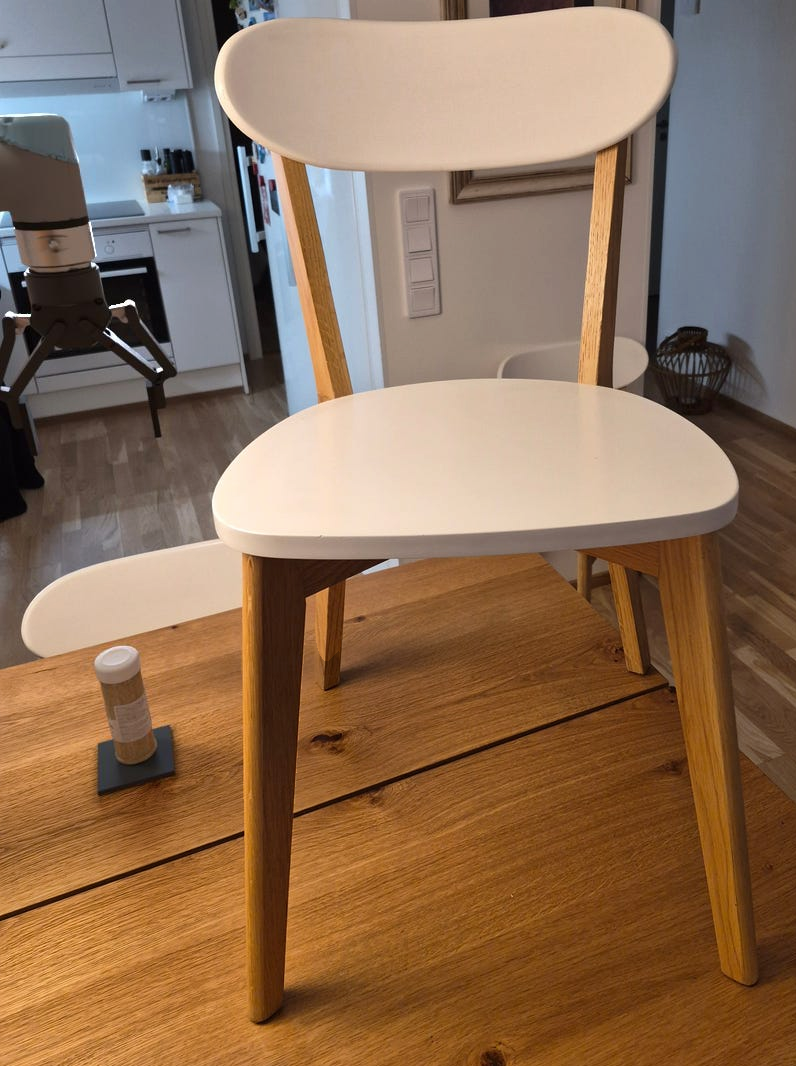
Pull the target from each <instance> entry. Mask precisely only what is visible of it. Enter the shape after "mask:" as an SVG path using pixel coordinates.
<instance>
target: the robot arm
mask: <svg viewBox="0 0 796 1066" xmlns="http://www.w3.org/2000/svg"><path fill="white" fill-rule="evenodd" d="M81 171H82V170H81V166H80V159H79V157H78V154H77V149H76V145H75V141H74V137H73V134H72V129H71V126H70V123H69V121H67V120H66V119H65V118H64V117H63V116H61V115H59V114H56V113H23V114H0V213H1V212H2V213H3V212H8V213H9V215H10V217H11V223H12V228H13V232H14V236H15V240H16V245H17V249H18V253H19V259H20V263H21V264H22V265H23V266H25V267H27V268H26V269H25V272H23V276H24V281H25V285H26V289H27V294H28V298H29V302H30V306H31V307H30V308H31V311H30V314H28V313H27V314H21V313H19V314H18V313H14V312H13V311H7V312H5V313H4V314H3V317H2V319H1V327H2V335H3V338H2V341H1V344H0V401H1V402H3V403H5V405H6V406H7V409H8V412H9V413H8V414H9V417H10V420H11V421H10V422H11V425H12V427H13V428H14V429H15V430H18V429H23V430H24V434H25V438H26V443H27V447H28V450H29V455H30V457H31V458H32V457H37V456H39V452H40V443H39V439H38V435H37V430H36V427H35V422H34V418H33V414H32V410H31V405H30V402H29V401H30V400H29V398H28V395H22V394H23V393H24V391H25V389H26V388H27V387H28V386H29V383H30V382H31V381H32V379H33V377H34V376H35V374H36V373H37V372H38V370H39V369H40V367H41V366H42V364H43V363H44V362H45V359H46V358H47V357H48V356H49V354H50V353H51V351H52V350H53V348H54V347H55V348H56V349H59V350H62V351H70V350H73V349H75V348H82V349H88V348H93V347H94V346H95V345H97V344H100V345H101V346H103V347H104V348H105V349H107V350H109V351H110V352H112V353H113V354H114V355H116V356H117V357H118V358H119V359H121V360H122V361H123V362H125V363H126V364H127V365H129V366H130V367H131V368H132V369H134V370H135V371H136V372H138V373H139V374H140V375H141V376H143V377H144V378H145V379H146V380H144V382H145V388H146V394H147V399H148V400H147V401H148V405H149V411H150V417H151V423H152V428H153V434H154V438H155V439H159V438H163V437H162V436H163V435H162V431H161V430H162V429H161V424H160V420H159V413H158V410H162V409H166V407H167V400H166V399H167V398H166V393H165V388H164V383H165V381H167V380H169V379H171V378H176V376H177V375H178V371H177V366H176V364H175V363H174V361H173V359H171V357H170V356H169V355H168V353H167V352H166V351H165V349H164V348H163V347H162V346H161V344H160V343H159V341H158V340H157V339H156V338H155V336H154V335H153V334H152V332H151V331H150V330H149V329H148V327H147V326H146V324H145V323H144V322H143V321H142V319H141V318H140V316H139V313H138V309H137V305H136V303H135V301H133V300H131V299H127V300H125V301H124V303H120V304H116V305H111V306H110V305H109V304H108V303H107V301H106V298H105V294H104V287H103V283H102V282H103V281H102V278H101V273H100V267H99V266H98V265H97V264H96V263H95V262H93V261H95V260H96V258H97V252H96V251H97V250H96V246H95V241H94V236H93V230H92V225H91V221H90V217H89V211H88V206H87V200H86V195H85V187H84V184H83V176H82V172H81ZM114 317H115V318H116V317H117V318H118V319H119V321H120V322H121V323H122V324H128V325H129V327H130V329H131V330H132V332H133V333H134V335H135V336H136V337H137V338H138V340H139V341H140V342H141V344H142V345H143V346H144V347H145V349H146V350H147V351H148V352H149V354H150V355H151V356H152V358H153V359H154V360H155V362H156V363H157V365H159V367H158V368H157V367H156V366H154V365H153V364H152V363H151V362H149V361H148V360H147V359H146V358H145V357H143V356H142V355H140V354H139V353H138V352H136V351H135V350H134V349H133V348H132V347H131V346H129V345H128V344H127V343H125V341H123V340H122V339H120V338H119V337H118V336H117V334H115V333H114V332H113V331H112V330H110V329H109V328H108V326H109V324H110V323H111V321H112V319H113V318H114ZM28 326H31V327H32V329H34V330H35V331H36V332H37V333H39V334H40V336H41V338H40V339H39V341H38V343H37V345H36V347H35V348H34V349H33V351H32V353H31V354H30V355H29V357H28V358H27V360H26V361H25V363H24V364H23V366H22V368H21V369H20V370H19V372H18V373H17V375H16V376H15V378H14V379H13V381H12V382H11V383H10V385H9V387H7V386H2V385H3V382H4V378H5V376H6V373H7V369H8V368H9V367H8V366H9V364H10V361H11V358H12V354H13V350H14V347H15V344H16V341H17V338H18V336H20V335H22V334H23V333H24V332H25V328H26V327H28Z"/></svg>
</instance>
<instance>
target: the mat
mask: <svg viewBox="0 0 796 1066" xmlns="http://www.w3.org/2000/svg"><path fill="white" fill-rule="evenodd" d="M152 730H153V734H154V738H155V740H156V742H157V748H156V750H155V752H154V753H153V755H152V756H151V757H150V758H148V759H147V760H145V761H143V762H140V763H137V764H123V763H120V762H119V761H118V760H117V758H116V755H115V752H116V750H115V745H114V741H113V738H112V739H108V740H104V741H100V742H98V743H97V795H98V796H102V795H106V794H109V793H113V792H117V791H121V790H123V789H128V788H132V787H134V786H138V785H142V784H146V783H150V782H153V781H155V780H160V779H163V778H168V777H170V776H174V775H176V768H175V767H176V766H175V759H174V748H173V739H172V738H173V737H172V729H171V725H170V724H166V725H163V726H158V727H155V728H152Z"/></svg>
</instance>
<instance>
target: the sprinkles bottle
mask: <svg viewBox="0 0 796 1066" xmlns="http://www.w3.org/2000/svg"><path fill="white" fill-rule="evenodd" d="M93 666H94V672H95V675H96V676H95V677H96V679H97V681H99V684H100V689H101V694H102V697H103V701H104V710H105V714H106V717H107V722H108V727H109V731H110V736H111V738H112V739H113V741H114V745H115V750H116V752H115V755H116V758H117V760H118V761H119V762H120V763H123V764H137V763H140V762H143V761H145V760H147V759H148V758H150V757H151V756H152V755H153V753H154V752H155V750H156V748H157V742H156V740H155V738H154V734H153V730H152V729H153V721H152V717H151V711H150V706H149V703H148V702H149V701H148V697H147V693H146V692H147V691H146V688H145V685H144V681H143V675H142V672H141V671H142V669H141V668H142V662H141V658H140V654H139V652H138V650H137V649H136V648H135V647H134V646H133V647H132V646H129V645H117V646H113V647H110V648H108V649H106V650H104V651H102V652H101V653H99V654H98V655H97V657H96V658H95V660H94V662H93Z"/></svg>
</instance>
